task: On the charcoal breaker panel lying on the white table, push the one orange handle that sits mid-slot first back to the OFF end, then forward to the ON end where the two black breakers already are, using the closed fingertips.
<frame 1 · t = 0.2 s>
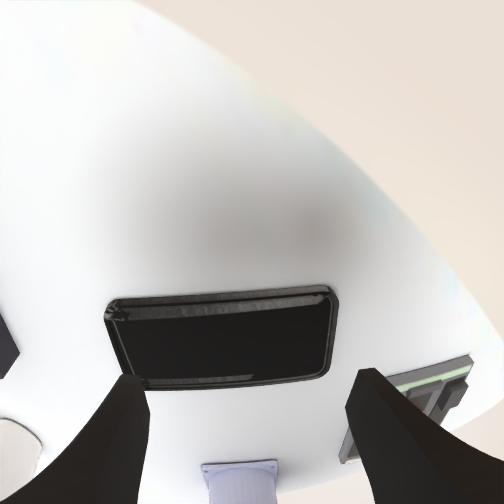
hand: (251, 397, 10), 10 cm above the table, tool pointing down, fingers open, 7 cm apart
can: (20, 432, 26), on the table
phone: (222, 338, 22), on the table
panel: (402, 412, 28), on the table
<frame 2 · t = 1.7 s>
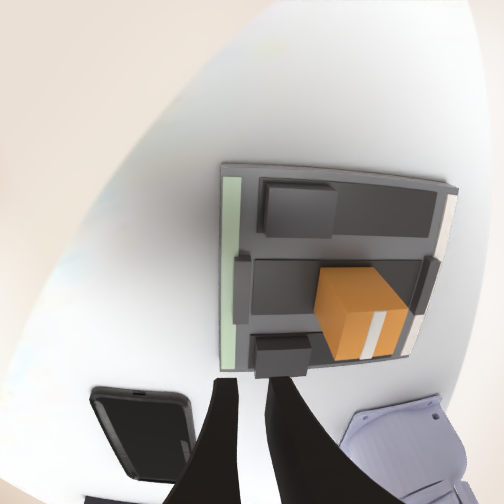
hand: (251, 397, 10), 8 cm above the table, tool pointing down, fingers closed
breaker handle: (357, 310, 15), point 4 cm above the table, slide at 0.0 cm
phone: (154, 438, 24), on the table
panel: (335, 276, 18), on the table
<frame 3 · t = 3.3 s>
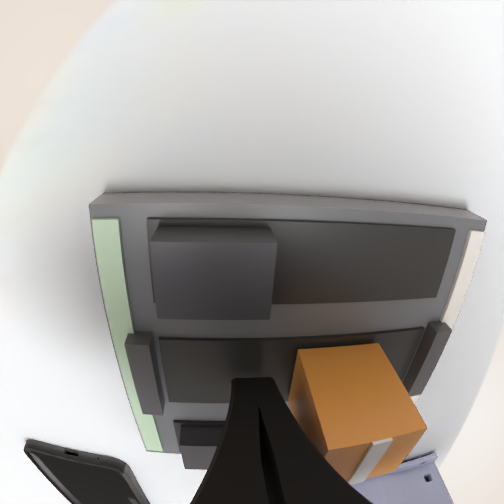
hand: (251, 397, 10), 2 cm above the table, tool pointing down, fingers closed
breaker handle: (349, 415, 9), point 4 cm above the table, slide at -1.2 cm, touching gripper
phone: (103, 488, 18), on the table
panel: (292, 348, 12), on the table
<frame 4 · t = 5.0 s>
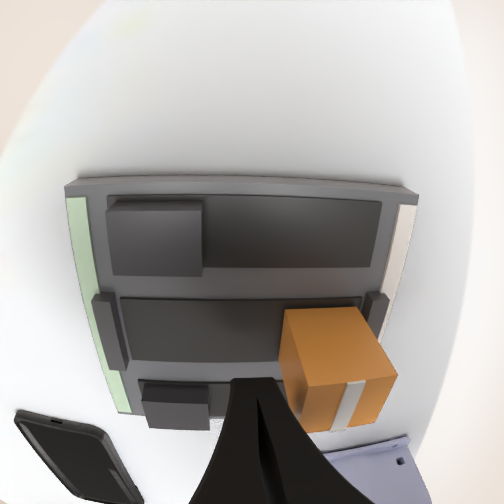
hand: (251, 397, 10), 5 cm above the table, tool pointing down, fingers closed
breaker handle: (330, 367, 11), point 4 cm above the table, slide at -3.0 cm
phone: (88, 462, 20), on the table
panel: (240, 314, 14), on the table
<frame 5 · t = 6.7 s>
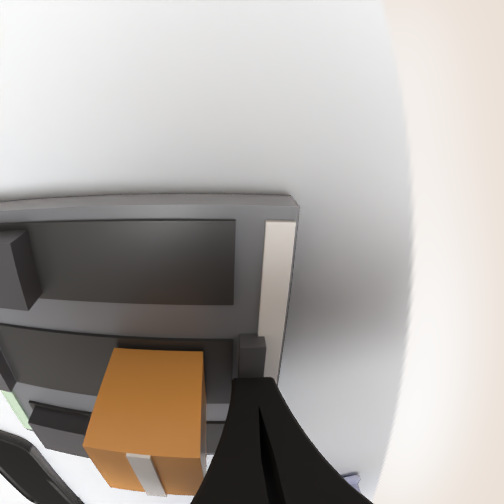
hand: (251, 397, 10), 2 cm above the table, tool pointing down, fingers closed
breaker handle: (155, 423, 9), point 4 cm above the table, slide at -2.3 cm, touching gripper
phone: (33, 471, 18), on the table
panel: (110, 346, 12), on the table
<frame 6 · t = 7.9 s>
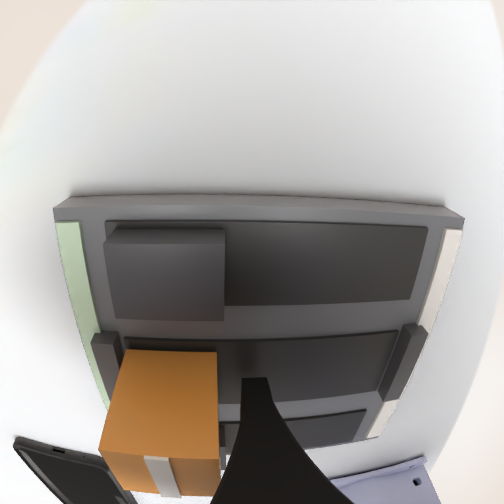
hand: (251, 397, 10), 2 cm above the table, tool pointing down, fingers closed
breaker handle: (169, 424, 9), point 4 cm above the table, slide at 3.2 cm, touching gripper
phone: (92, 486, 18), on the table
panel: (262, 350, 12), on the table
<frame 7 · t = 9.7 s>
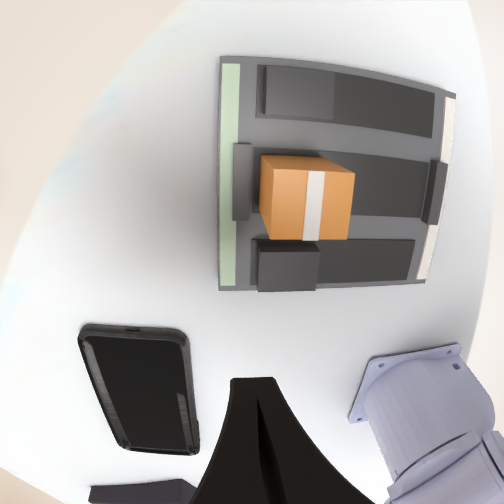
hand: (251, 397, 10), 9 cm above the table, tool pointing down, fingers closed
calculator: (157, 496, 32), on the table
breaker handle: (300, 193, 13), point 4 cm above the table, slide at 3.0 cm
phone: (148, 395, 23), on the table
panel: (340, 179, 17), on the table
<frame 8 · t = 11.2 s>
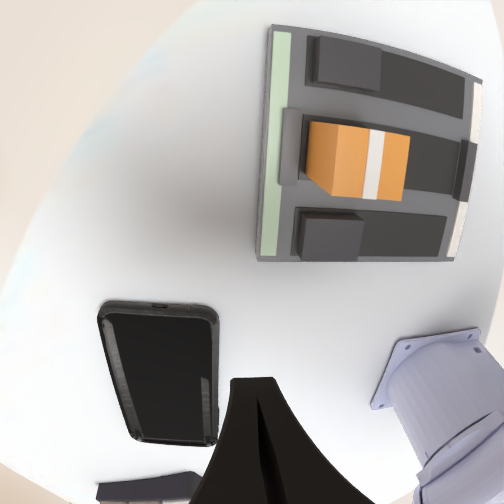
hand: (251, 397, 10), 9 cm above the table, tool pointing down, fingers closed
calculator: (167, 492, 31), on the table
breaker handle: (353, 156, 13), point 4 cm above the table, slide at 3.0 cm
phone: (167, 381, 23), on the table
panel: (378, 153, 16), on the table
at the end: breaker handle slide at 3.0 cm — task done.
